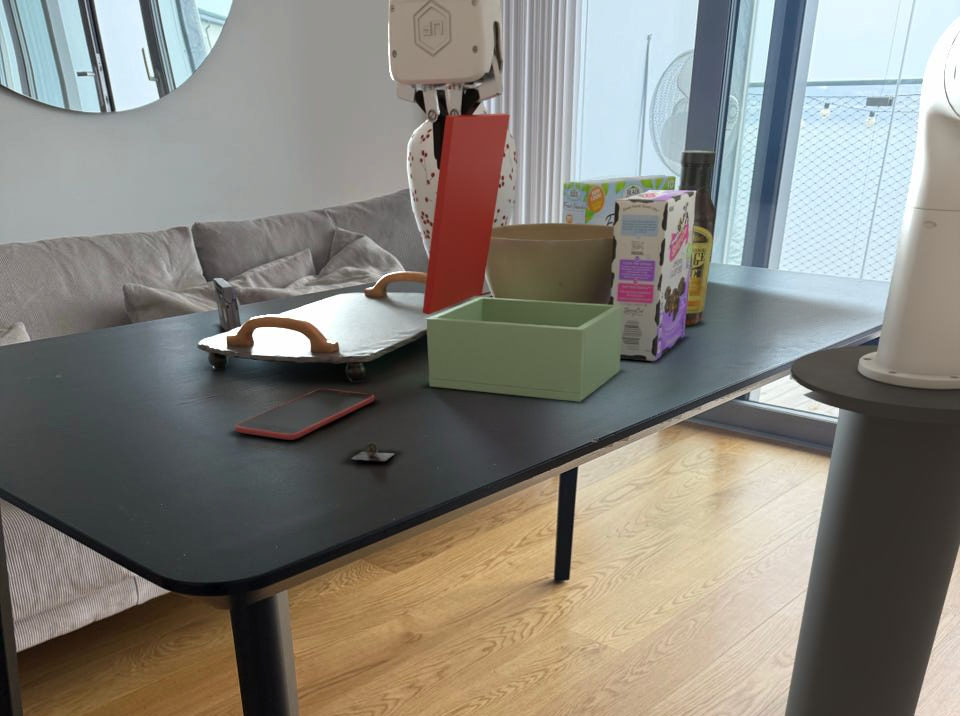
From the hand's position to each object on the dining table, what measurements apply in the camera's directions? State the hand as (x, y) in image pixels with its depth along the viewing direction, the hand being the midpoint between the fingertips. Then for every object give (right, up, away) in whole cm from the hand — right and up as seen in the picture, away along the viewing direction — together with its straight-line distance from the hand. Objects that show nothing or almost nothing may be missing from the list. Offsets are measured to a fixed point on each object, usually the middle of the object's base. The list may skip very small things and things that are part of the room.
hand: (451, 168), depth 89 cm
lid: (+2, -4, +1) cm, 5 cm away
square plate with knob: (-6, -31, -14) cm, 35 cm away
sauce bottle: (+29, -5, +30) cm, 42 cm away
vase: (+1, +7, +51) cm, 52 cm away
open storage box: (+8, -19, +7) cm, 21 cm away
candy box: (+23, -12, +18) cm, 31 cm away
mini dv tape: (-31, -5, +33) cm, 45 cm away
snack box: (+25, +12, +59) cm, 65 cm away
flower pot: (+12, -8, +25) cm, 29 cm away
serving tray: (-13, -10, +23) cm, 28 cm away
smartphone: (-13, -25, -3) cm, 29 cm away
